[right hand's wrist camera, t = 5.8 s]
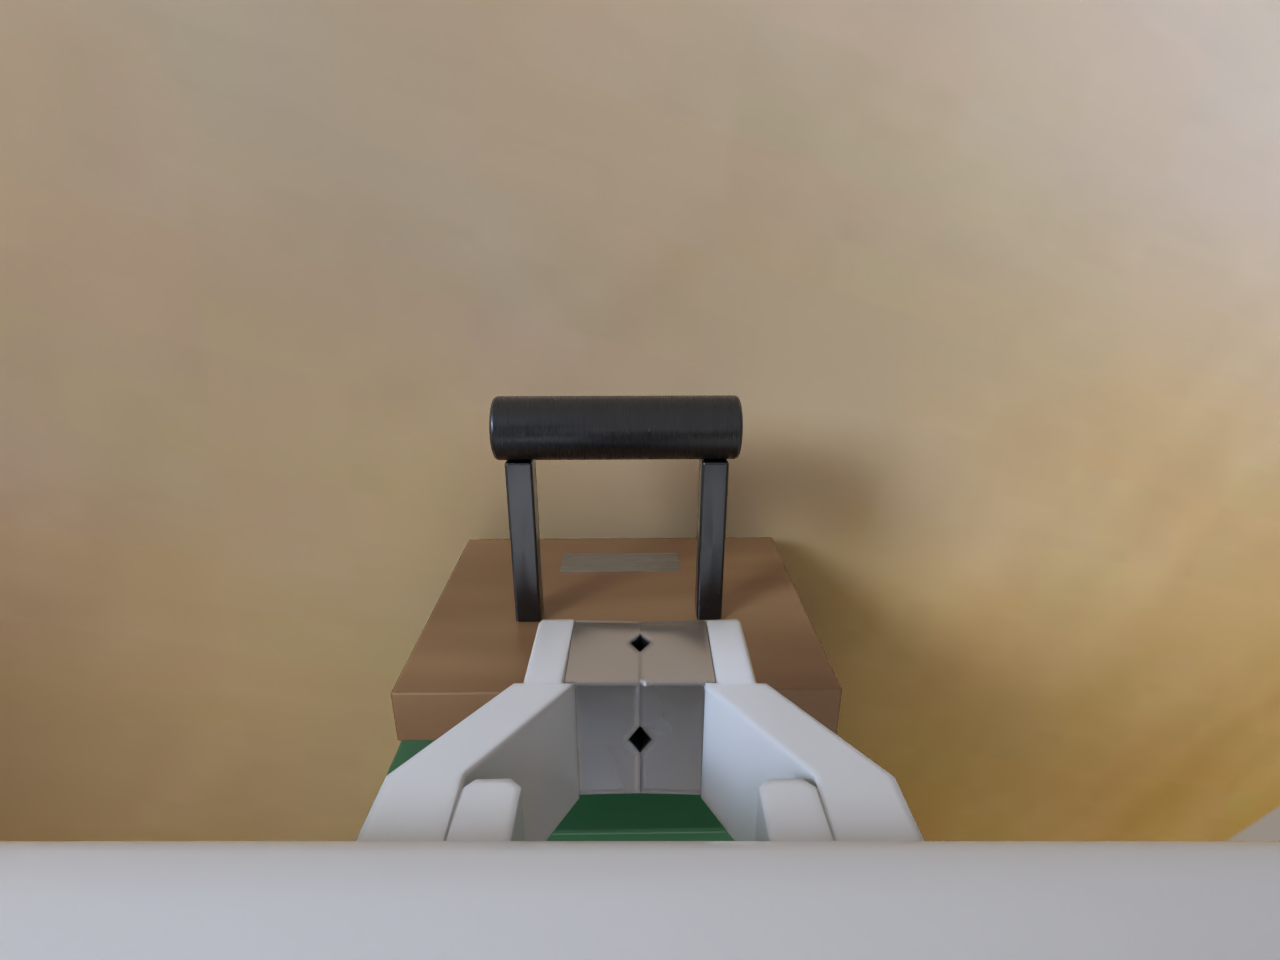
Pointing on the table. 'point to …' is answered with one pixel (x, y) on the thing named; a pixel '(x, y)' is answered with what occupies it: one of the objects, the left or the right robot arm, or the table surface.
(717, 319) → the table surface
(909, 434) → the table surface
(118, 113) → the table surface
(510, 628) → the drawer
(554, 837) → the cabinet
